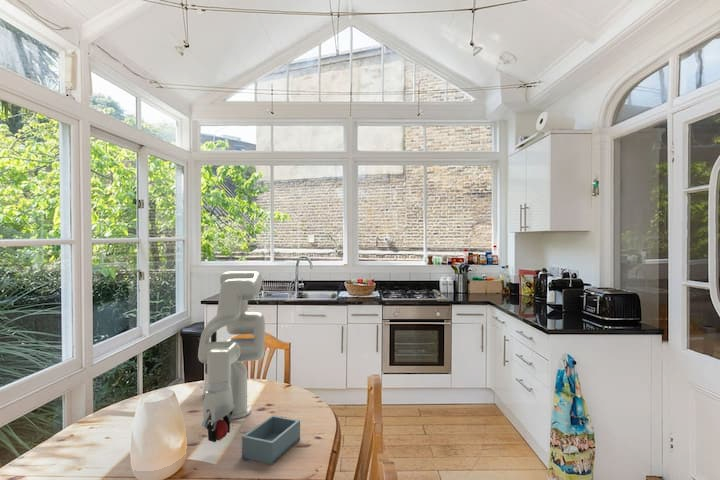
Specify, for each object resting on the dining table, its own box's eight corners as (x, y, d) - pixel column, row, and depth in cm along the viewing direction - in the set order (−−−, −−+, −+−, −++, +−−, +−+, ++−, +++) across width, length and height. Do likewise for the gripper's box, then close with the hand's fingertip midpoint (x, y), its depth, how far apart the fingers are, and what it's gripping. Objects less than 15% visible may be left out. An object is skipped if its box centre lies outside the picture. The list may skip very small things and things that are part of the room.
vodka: (204, 391, 194) (204, 329, 195) (224, 389, 197) (224, 328, 197) (201, 398, 185) (202, 333, 186) (222, 396, 188) (223, 332, 188)
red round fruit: (231, 437, 139) (231, 415, 139) (220, 446, 134) (220, 422, 134) (217, 434, 141) (217, 412, 141) (206, 443, 136) (206, 419, 136)
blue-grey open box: (242, 457, 134) (242, 436, 134) (272, 433, 151) (272, 415, 151) (272, 464, 130) (272, 443, 130) (300, 439, 147) (300, 420, 147)
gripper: (227, 374, 146) (227, 423, 147) (191, 392, 130) (191, 446, 131) (243, 377, 144) (243, 426, 144) (209, 395, 128) (210, 451, 128)
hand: (219, 435), depth 138 cm, fingers closed on red round fruit, 5 cm apart
